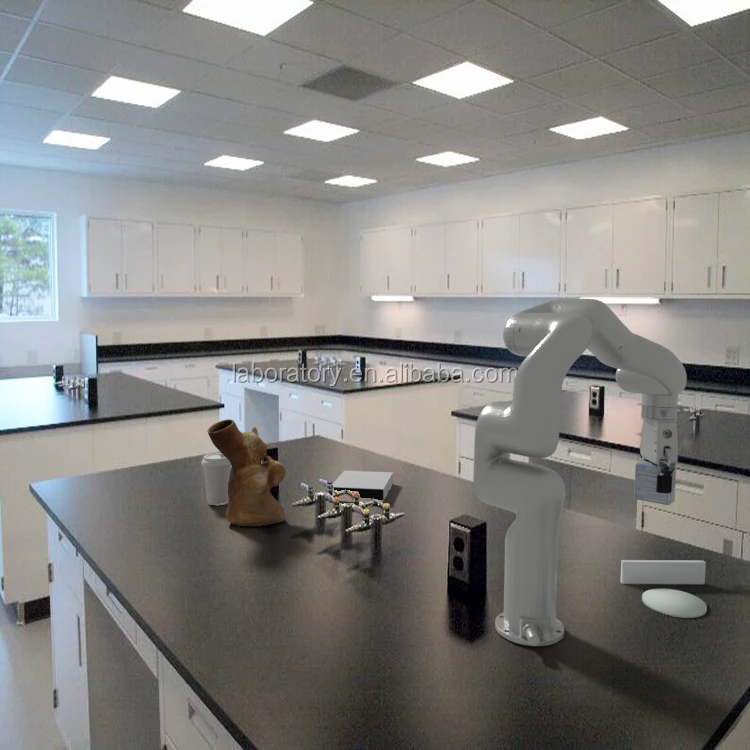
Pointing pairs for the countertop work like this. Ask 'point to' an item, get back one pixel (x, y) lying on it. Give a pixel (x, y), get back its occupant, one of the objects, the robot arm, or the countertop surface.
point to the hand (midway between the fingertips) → (655, 487)
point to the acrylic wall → (663, 572)
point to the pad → (674, 603)
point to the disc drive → (365, 483)
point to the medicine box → (651, 484)
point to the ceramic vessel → (248, 476)
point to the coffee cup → (216, 477)
